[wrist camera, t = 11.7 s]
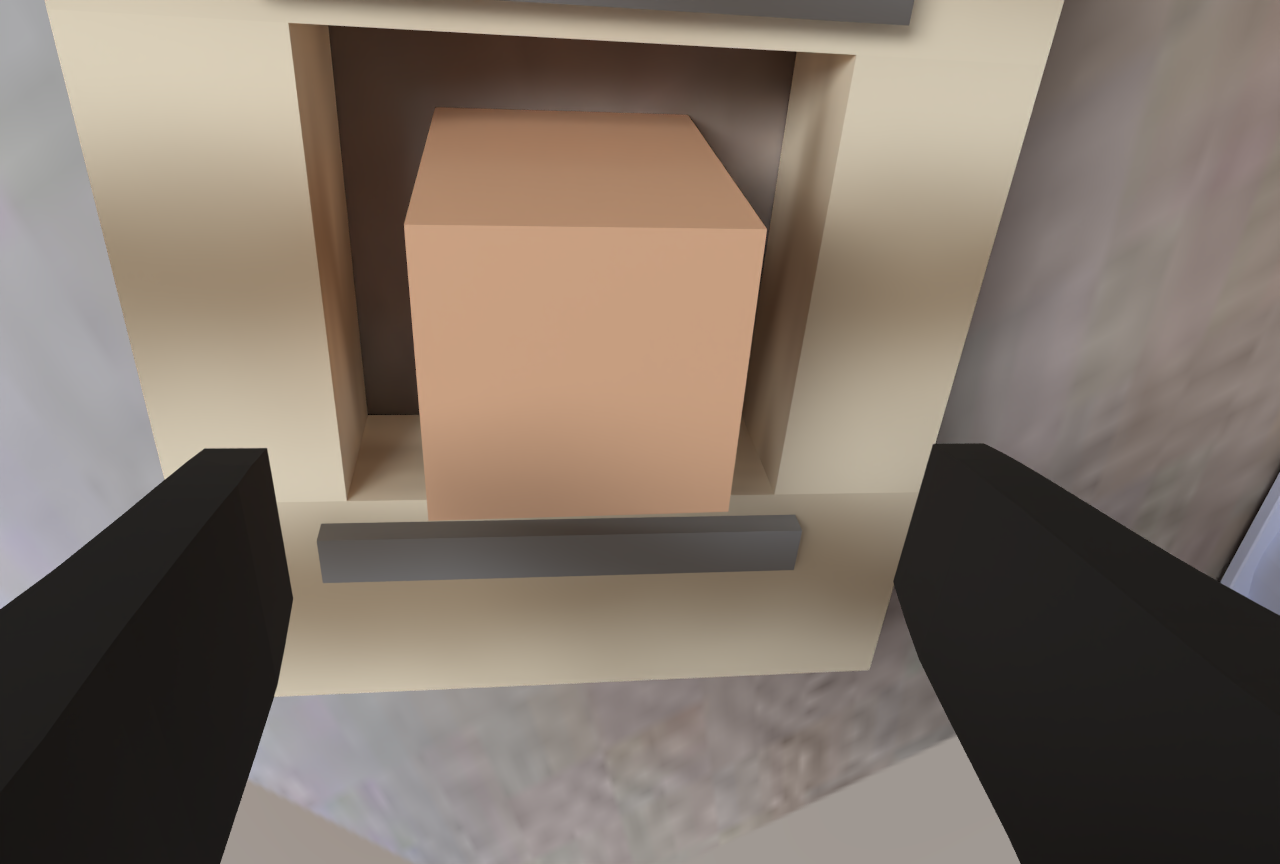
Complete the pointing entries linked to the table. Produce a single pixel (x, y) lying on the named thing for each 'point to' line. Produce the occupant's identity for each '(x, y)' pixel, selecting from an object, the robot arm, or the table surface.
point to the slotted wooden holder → (392, 444)
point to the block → (578, 314)
